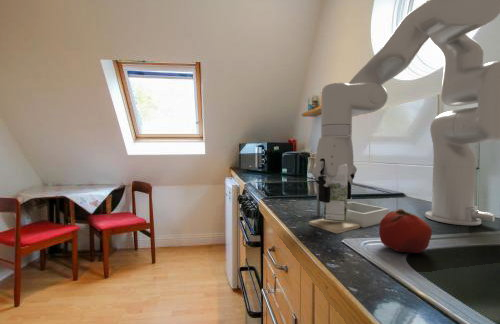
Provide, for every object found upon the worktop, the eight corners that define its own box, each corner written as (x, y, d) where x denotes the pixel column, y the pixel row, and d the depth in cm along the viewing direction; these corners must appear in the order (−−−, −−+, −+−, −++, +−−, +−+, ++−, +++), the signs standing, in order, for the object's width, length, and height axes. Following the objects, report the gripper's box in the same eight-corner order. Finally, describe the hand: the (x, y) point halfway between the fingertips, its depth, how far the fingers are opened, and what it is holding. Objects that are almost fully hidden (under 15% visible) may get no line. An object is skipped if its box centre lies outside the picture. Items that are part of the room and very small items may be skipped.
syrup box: (345, 216, 68) (346, 163, 67) (346, 222, 62) (347, 164, 62) (323, 215, 70) (324, 162, 69) (323, 220, 64) (323, 163, 63)
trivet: (359, 227, 65) (359, 224, 65) (336, 233, 60) (336, 230, 60) (331, 219, 72) (331, 216, 72) (309, 224, 67) (309, 221, 67)
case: (388, 221, 71) (390, 179, 71) (359, 228, 64) (360, 181, 63) (344, 210, 84) (345, 174, 83) (315, 216, 76) (316, 176, 76)
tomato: (413, 242, 54) (414, 206, 54) (443, 261, 45) (445, 217, 45) (369, 241, 55) (370, 205, 55) (389, 259, 46) (391, 215, 45)
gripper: (345, 135, 73) (343, 195, 74) (301, 132, 63) (300, 201, 64) (369, 133, 67) (367, 199, 67) (324, 130, 57) (323, 206, 58)
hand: (335, 199), depth 66 cm, fingers closed on syrup box, 7 cm apart
